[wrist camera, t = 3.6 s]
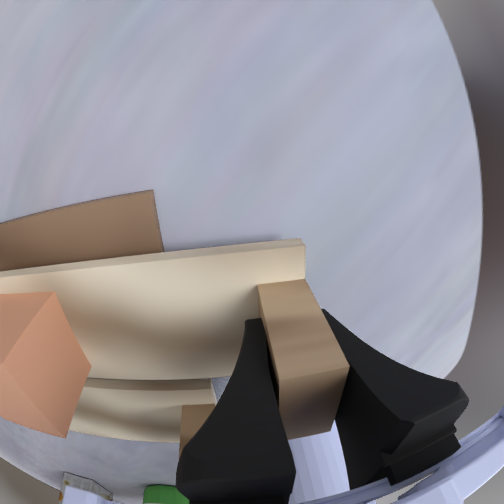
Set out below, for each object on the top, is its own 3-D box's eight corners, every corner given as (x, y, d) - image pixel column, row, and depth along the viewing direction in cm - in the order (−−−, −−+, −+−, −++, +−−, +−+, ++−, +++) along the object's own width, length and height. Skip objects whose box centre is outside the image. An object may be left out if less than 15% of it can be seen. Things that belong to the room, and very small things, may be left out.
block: (91, 366, 13) (65, 438, 8) (32, 360, 12) (3, 418, 8) (54, 291, 10) (2, 363, 6) (-4, 294, 10) (-50, 348, 6)
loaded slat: (297, 356, 14) (325, 446, 9) (13, 359, 13) (-17, 415, 8) (300, 238, 12) (358, 326, 6) (-29, 275, 10) (-79, 326, 5)
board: (214, 427, 18) (214, 433, 18) (15, 404, 17) (14, 408, 16) (153, 189, 11) (149, 192, 10) (-70, 247, 9) (-75, 250, 9)
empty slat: (226, 432, 18) (232, 499, 12) (27, 412, 16) (11, 456, 11) (210, 378, 15) (212, 468, 9) (-12, 361, 13) (-39, 408, 8)
